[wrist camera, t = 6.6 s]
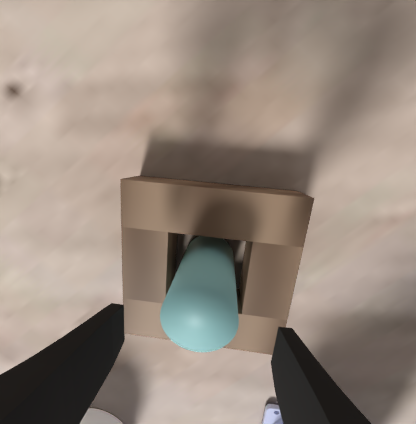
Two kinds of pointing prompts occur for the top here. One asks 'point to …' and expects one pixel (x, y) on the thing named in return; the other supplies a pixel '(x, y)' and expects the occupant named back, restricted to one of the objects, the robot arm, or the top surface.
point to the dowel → (202, 297)
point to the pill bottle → (99, 417)
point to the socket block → (219, 228)
